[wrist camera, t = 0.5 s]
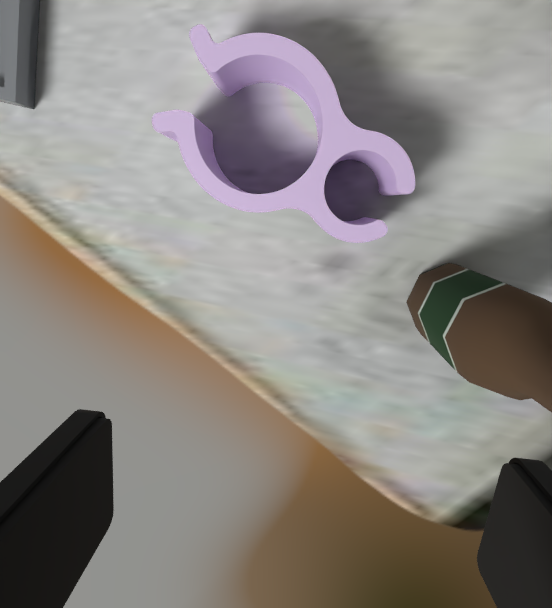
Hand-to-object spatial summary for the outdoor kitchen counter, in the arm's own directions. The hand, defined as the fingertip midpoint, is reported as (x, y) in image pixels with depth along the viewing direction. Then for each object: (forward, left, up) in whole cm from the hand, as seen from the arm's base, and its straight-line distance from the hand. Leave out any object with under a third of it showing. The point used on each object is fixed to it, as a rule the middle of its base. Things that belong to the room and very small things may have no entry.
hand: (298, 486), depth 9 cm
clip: (-10, -3, -31) cm, 33 cm away
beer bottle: (0, +15, -31) cm, 34 cm away
